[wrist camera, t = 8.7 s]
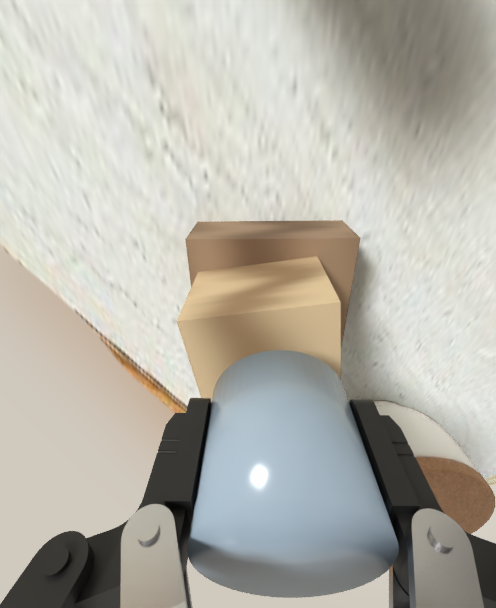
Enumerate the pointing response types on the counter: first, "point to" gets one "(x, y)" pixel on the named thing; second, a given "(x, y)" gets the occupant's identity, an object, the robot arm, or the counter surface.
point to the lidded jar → (444, 467)
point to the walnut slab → (277, 248)
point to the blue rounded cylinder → (287, 484)
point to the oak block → (259, 316)
